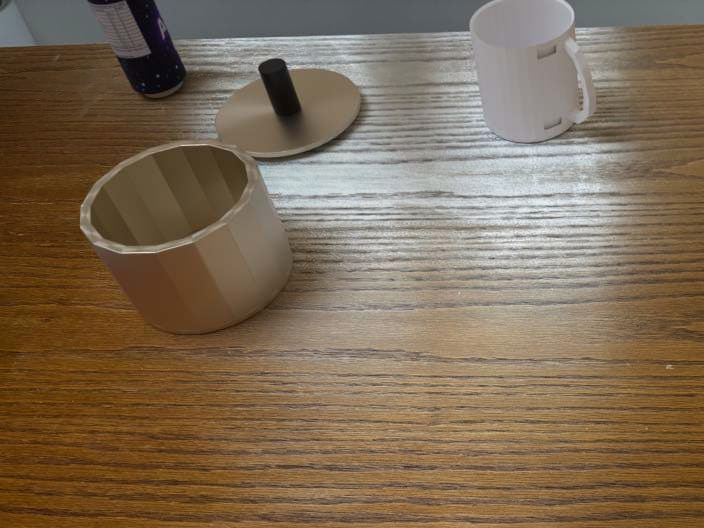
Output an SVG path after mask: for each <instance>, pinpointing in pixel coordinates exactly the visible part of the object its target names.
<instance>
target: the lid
mask: <svg viewBox="0 0 704 528" xmlns="http://www.w3.org/2000/svg"><path fill="white" fill-rule="evenodd" d="M257 71H258V73H259V75H260V78H258V79H256V80H253V81H251V82H250V83H248V84H246V85H243V87H241V88H240V89H237V90H236V91H235V92H234V93H233V94H232V95H230V96H229V97H228V98H227V99H226V100H225V101H224V102H223V104H222V105H221V106H220V108H219V109H218V111H217V114H216V116H215V120H214V129H215V132H216V136H218V140H219V141H223V142H227V143H231V144H235V145H238V146H239V147H241V148H242V149H243V150H244V151H245V152H246V153H248V154H249V155H250V156H251V157H252V158H281V157H287V156H293V155H298V154H301V153H304V152H308V151H310V150H314V149H315V148H318V147H320V146H323V145H324V144H327V143H328V142H330V141H331V140H333V139H335V138H337V137H338V136H339V135H340V134H343V132H344V131H345V130H347V129H348V128H349V127H350V126H351V124H353V122H354V121H355V120H356V118H357V116H358V115H359V112H360V109H361V105H362V98H361V94H360V90H359V88H358V86H357V85H356V84H355V82H353V80H351V78H349V77H347V75H344V74H343V73H339V72H337V71H334V70H330V69H324V68H316V67H315V68H314V67H313V68H311V67H310V68H309V67H307V68H306V67H305V68H304V67H303V68H293V69H289V68H288V65H287V62H286V61H285V59H283V58H279V57H273V58H269V59H266V60H264V61H262V62H261V63H259V65H258V67H257Z"/></svg>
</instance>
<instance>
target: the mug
mask: <svg viewBox="0 0 704 528" xmlns="http://www.w3.org/2000/svg"><path fill="white" fill-rule="evenodd" d="M468 28H469V32H470V33H469V34H470V39H471V46H472V52H473V58H474V65H475V71H476V77H477V84H478V90H479V95H480V102H481V109H482V116H483V120H484V123H485V125H486V127H487V128H488V129H489V131H491V132H492V133H493V134H494V135H496V136H497V137H499V138H501V139H504V140H506V141H509V142H515V143H523V144H524V143H525V144H527V143H528V144H530V143H538V142H543V141H548V140H551V139H553V138H556V137H558V136H560V135H562V134H563V133H565V132H567V131H568V130H569V129H570V128H571V127H572V126H573V125H574V124H576V125H580V124H581V123H583V122H585V121H586V120H589V118H590V117H591V116H592V115H594V113H595V112H597V90H596V88H595V87H596V86H595V83H594V79H593V76H592V71H591V69H590V66H589V63H588V61H587V59H586V57H585V55H584V52H583V51H582V48H581V47H580V46H579V44H578V43H577V37H576V36H577V35H576V19H575V11H574V9H573V7H572V6H571V5H570V4H569V2H567V1H566V0H491V1H489V2H487V3H485V4H483V5H482V6H481V7H479V8H478V9H477V10H476V11H475V12H474V13H473V15H472V16H471V18H470V20H469V27H468ZM579 80H580V84H581V89H582V95H583V103H582V107H583V108H582V110H580V93H579Z"/></svg>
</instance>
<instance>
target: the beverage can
mask: <svg viewBox="0 0 704 528" xmlns="http://www.w3.org/2000/svg"><path fill="white" fill-rule="evenodd" d="M86 1H87V4H88V5H89V8H90V9H91V11H92V13H93V15H94V17H95V19H96V21H97V23H98V25H99V27H100V29H101V30H102V33H103V35H104V37H105V38H106V40H107V43H108V44H109V47H110V48H111V50H112V51H113V54H114V55H115V58H116V59H117V62H118V64H119V65H120V67H121V69H122V72H123V73H124V76H125V77H126V78H127V80H128V83H129V84H130V86H131V89H132V90H133V91H134V92H136V93H138V94H140V95H141V94H142V95H144V96H145V97H148V98H153V99H157V98H164V97H168V96H170V95H172V94H175V93H176V92H177V91H178V90H179V89H180V88H181V87H182V85H183V84H182V83H183V82H184V80H185V77H186V76H187V70H186V68H185V65H184V63H183V61H182V58H181V56H180V54H179V52H178V49H177V47H176V45H175V43H174V41H173V39H172V37H171V35H170V32H169V29H168V28H167V25H166V23H165V21H164V19H163V17H162V15H161V12H160V10H159V8H158V6H157V4H156V1H155V0H86ZM175 91H176V92H175Z"/></svg>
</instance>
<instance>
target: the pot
mask: <svg viewBox="0 0 704 528" xmlns="http://www.w3.org/2000/svg"><path fill="white" fill-rule="evenodd" d="M79 228H80V230H81V232H82V233H83V235H84V236H85V238H86V239H87V241H88V242H89V243H90V245H91V247H92V248H93V250H94V251H95V253H96V254H97V256H98V257H99V259H100V260H101V261H102V263H103V265H104V266H105V268H106V270H107V271H108V272H109V274H110V275H111V277H112V279H114V281H115V283H116V284H117V286H118V287H119V288H120V290H121V291H122V293H123V294H124V296H125V297H126V299H127V301H128V302H129V303H130V305H131V306H132V307H133V309H134V310H135V311H136V312H137V313H138V315H139V317H140V318H141V319H142V320H143V321H144V322H145V323H146V324H148V325H150V326H151V327H153V328H155V329H157V330H159V331H162V332H166V333H169V334H175V335H186V336H187V335H201V334H208V333H213V332H218V331H222V330H224V329H226V328H230V327H233V326H235V325H237V324H240V323H242V322H244V321H246V320H248V319H249V318H251V317H253V316H255V315H256V314H258V313H259V312H262V310H264V309H265V308H266V307H267V306H268V305H270V304H271V303H272V302H273V300H276V298H277V297H278V296H279V294H280V293H281V292H282V291H283V289H284V288H285V286H286V285H287V283H288V282H289V278H290V277H291V274H292V271H293V267H294V254H293V250H292V247H291V245H290V240H289V236H288V233H287V232H286V230H285V227H284V225H283V223H282V220H281V218H280V215H279V213H278V211H277V209H276V206H275V204H274V201H273V199H272V196H271V194H270V192H269V190H268V187H267V184H266V183H265V180H264V178H263V175H262V173H261V170H260V169H259V165H258V164H257V161H256V159H254V157H252V156H250V155H249V154H248V153H246V152H245V151H244V150H243V149H242V148H241V147H239V146H238V145H235V144H231V143H227V142H223V141H221V140H220V139H215V138H204V139H203V138H199V139H179V140H176V141H173V142H169V143H164V144H161V145H157V146H153V147H150V148H147V149H145V150H143V151H141V152H139V153H136V154H134V155H133V156H131V157H129V158H127V159H124V160H123V161H121V162H119V163H117V164H116V165H115V166H114V167H112V168H111V169H110V170H109V171H108V172H107V173H105V174H104V175H103V176H102V177H101V178H99V179H98V180H97V181H96V182H94V184H93V185H92V187H91V189H90V190H89V192H88V193H87V195H86V197H85V198H84V199H83V202H82V203H81V204H80V208H79Z"/></svg>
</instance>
